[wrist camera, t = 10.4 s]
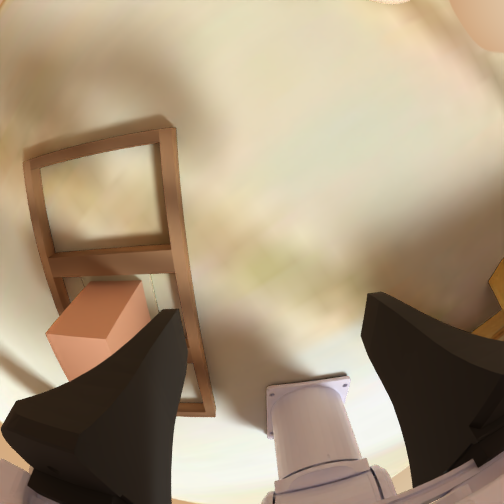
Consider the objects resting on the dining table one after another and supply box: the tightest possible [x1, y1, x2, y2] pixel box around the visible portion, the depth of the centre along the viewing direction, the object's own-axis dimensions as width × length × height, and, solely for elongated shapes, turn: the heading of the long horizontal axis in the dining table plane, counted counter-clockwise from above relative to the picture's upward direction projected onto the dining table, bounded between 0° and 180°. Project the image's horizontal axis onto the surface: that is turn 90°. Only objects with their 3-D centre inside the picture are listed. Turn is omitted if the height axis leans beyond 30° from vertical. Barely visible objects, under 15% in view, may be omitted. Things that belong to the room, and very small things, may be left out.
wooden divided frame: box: [23, 127, 216, 417], centre depth 20 cm, size 25×12×1 cm, turn 3°
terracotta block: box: [45, 280, 151, 381], centre depth 17 cm, size 4×4×7 cm
